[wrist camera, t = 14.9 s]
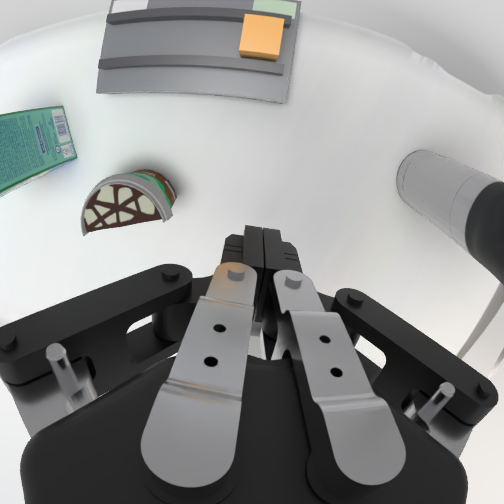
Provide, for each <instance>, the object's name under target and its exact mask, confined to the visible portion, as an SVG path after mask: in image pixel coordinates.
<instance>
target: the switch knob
mask: <svg viewBox="0 0 504 504" xmlns="http://www.w3.org/2000/svg"><path fill="white" fill-rule="evenodd" d="M283 25H284V19H282V18H276V17H269V16H261V15H253V14H245V17H244V23H243V29H242V35H241V41H240V47H239V52H240V57H242V58H251V59H259V60H266V61H273V62H276V60H277V58H278V56H279V51H280V45H281V38H282V32H283Z"/></svg>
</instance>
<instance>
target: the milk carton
mask: <svg viewBox="0 0 504 504" xmlns="http://www.w3.org/2000/svg"><path fill="white" fill-rule="evenodd" d="M76 158H77V156H76V153H75V150H74V146H73V143H72V139H71V136H70V132H69V129H68V125H67V121H66V117H65V113H64V109H63V106H56V107H47V108H39V109H31V110H25V111H18V112H12V113H7V114H1V115H0V197H2V196H4V195H6V194H7V193H9V192H11V191H13V190H15V189H17V188H19V187H21V186H23V185H25V184H27V183H29V182H31V181H33V180H35V179H37V178H39V177H41V176H43V175H45V174H47V173H49V172H51V171H53V170H54V169H56V168H58V167H60V166H62V165H64V164H66V163H68V162H70V161H72V160H74V159H76Z"/></svg>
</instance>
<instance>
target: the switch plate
mask: <svg viewBox="0 0 504 504" xmlns="http://www.w3.org/2000/svg"><path fill="white" fill-rule="evenodd" d="M300 7H301V1H296V0H112V2H111V6H110V10H109V14H108V15H107V20H106V22H107V24H106V29H105V34H104V39H103V45H102V51H101V58H100V59H99V65H98V68H99V72H98V80H97V89H96V93H99V94H115V93H190V94H207V95H219V96H230V97H239V98H248V99H256V100H263V101H270V102H276V103H286V99H287V93H288V86H289V80H290V73H291V67H292V60H293V54H294V47H295V41H296V34H297V27H298V21H299V14H300ZM245 14H253V15H261V16H269V17H276V18H282V19H284V25H283V32H282V38H281V45H280V51H279V56H278V58H277V60H276V62H273V61H266V60H259V59H251V58H242V57H240V52H239V47H240V41H241V35H242V29H243V23H244V17H245Z"/></svg>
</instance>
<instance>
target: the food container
mask: <svg viewBox="0 0 504 504" xmlns="http://www.w3.org/2000/svg"><path fill="white" fill-rule="evenodd" d="M176 198H177V197H176V194H175V191H174V189H173V187H172V186H171V184H170V182H169V181H168V180H167V179H166V178H165V177H163V176H162V175H161V174H159V173H157V172H154V171H152V170H138V171H135V172H133V173H130V174H118V175H113V176H110V177H107V178H106V179H104V180H102V181H101V182H100V183H98V184H97V185H96V186H95V188H94V189H93V190H92V191H91V193H90V194H89V195H88V197H87V199H86V201H85V203H84V206H83V209H82V214H81V229H82V233H83V236H85V235H86V234H87V233H88V232H93V231H96V230H101V229H108V228H116V227H123V226H127V225H132V224H137V223H142V222H148V221H154V220H160V219H162V220H163V223H164V222H165V221H166V220H168V219H169V218H171V217H172V216H173V214H172V211H171V208H172V206H173V204H174V202H175V200H176Z"/></svg>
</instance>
